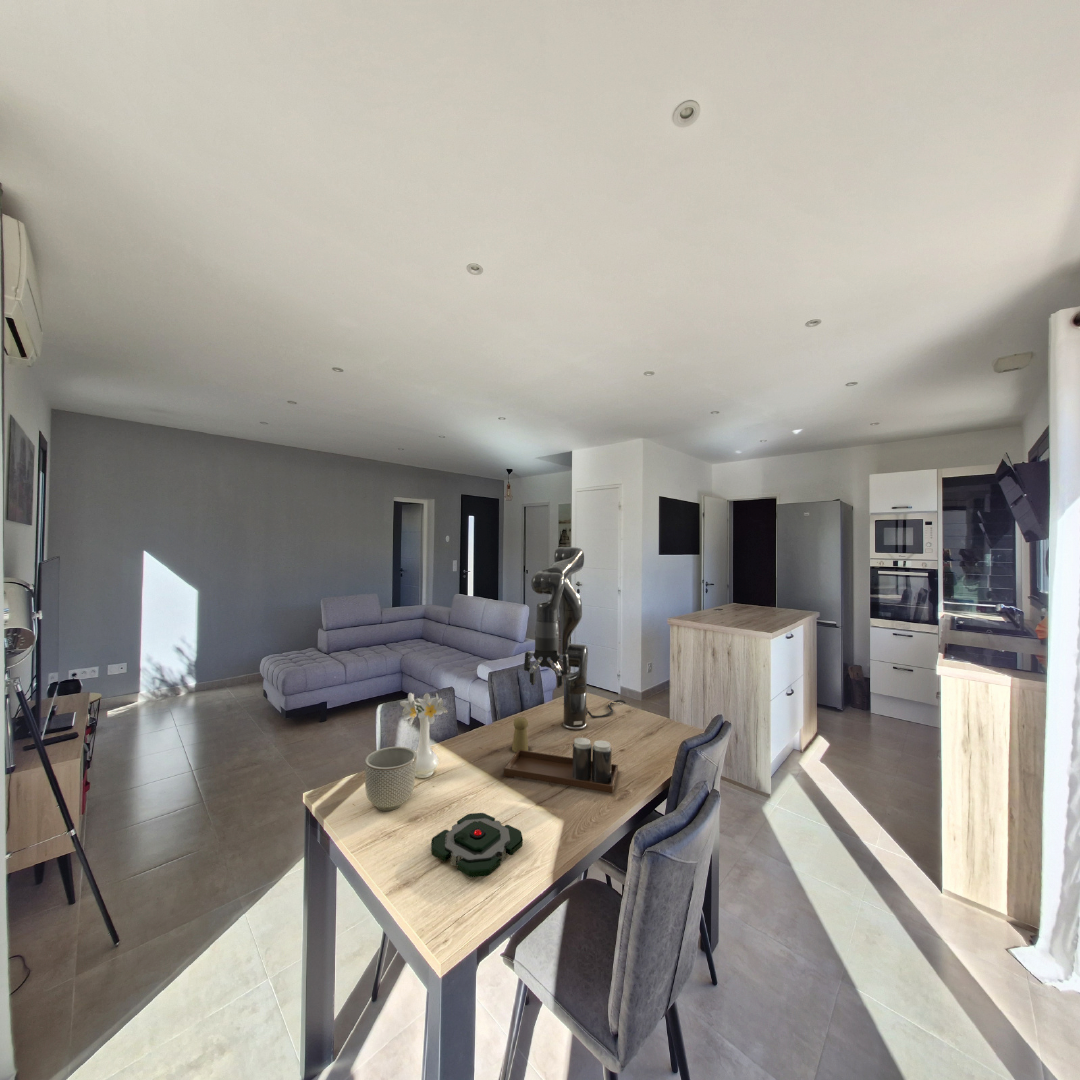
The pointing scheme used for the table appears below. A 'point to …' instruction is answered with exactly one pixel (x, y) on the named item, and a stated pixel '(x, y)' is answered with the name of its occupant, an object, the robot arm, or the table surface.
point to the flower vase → (424, 730)
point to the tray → (553, 770)
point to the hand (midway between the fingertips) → (546, 685)
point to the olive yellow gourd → (520, 734)
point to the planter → (390, 776)
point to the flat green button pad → (476, 844)
